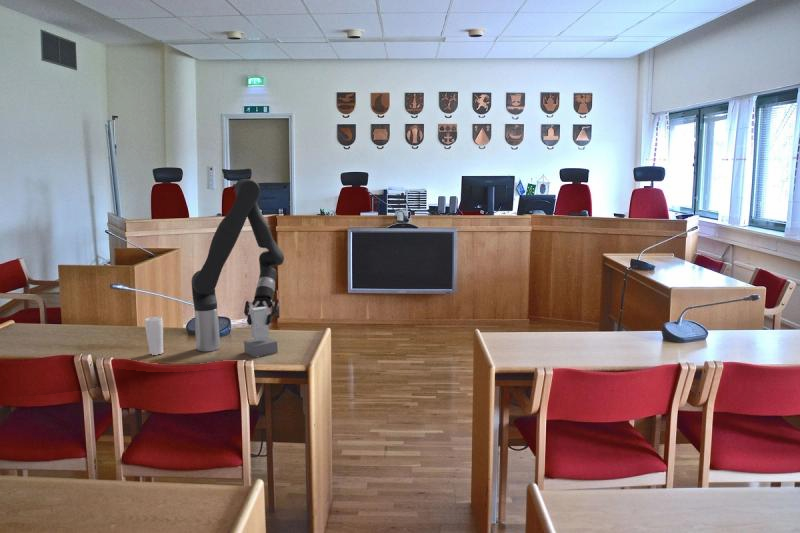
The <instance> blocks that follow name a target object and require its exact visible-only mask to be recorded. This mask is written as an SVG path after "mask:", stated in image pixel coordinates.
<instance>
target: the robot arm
mask: <svg viewBox="0 0 800 533" xmlns="http://www.w3.org/2000/svg"><path fill="white" fill-rule="evenodd" d="M234 193H235V196H236V197H235V200H234V203H233V205H232V207H231V209H230V210H229V212H227V213H226V215H225V216H224V217H223V218H222V220H221V221H220V222H219V224H218V226H217V228H216V230H215V232H214V234H213V237H212V240H211V243H210V246H209V251H208V254H207V258H206V259H205V261H204V264H203V266H202V267H201V269H200V270H197V271H195V273H194V274H193V275H192V278H191V292H192V293H191V294H192V302H193V309H194V320H195V321H194V322H195V326H194V332H195V333H194V334H195V335H194V336H195V347H196V349H197V351H199V352H214V351H217V350H219V349H220V348H221V339H220V337H221V336H220V327H219V326H220V324H219V313H218V312H219V311H218V310H219V309H218V300H217V297H216V296H217V295H216V287H217V285H218V282H219V279H220V276H221V272H222V270H223V267H224V266H225V264H226V262H227V260H228V259H229V256H230V254H231V253H232V251H233V250H234V248H235V245H236V243H237V241H238V238H239V236H240V235H241V232H242V230H243V227H244V226H245V223H246V221H247V219H248V222H249V225H250V227H251V230H252V234H253V235H254V239H255V241H256V243H257V246H258V247H259V248H260V249H261V248H262V249H267V251H262V252H261V253H260V255H259V256H258V262H259V277H258V281H257V284H256V289H255V293H254V299H253V300H252V301H249V300H246V301H245V304H244V309H243V310H244V311H243V314H244V315H245V317H247V319H246V323H247V325H248V326H251V314H250V308H255V307H262V306H264V307H267V310H268V316H267V321H266V324H267V325H268V326H270V324H272V319H273V317H277V316H278V313H279V308H280V303H279V301H278V300H275V301H273V300H274V295H275V291H276V281H277V276H278V275H277V274H278V271H277V270H276V269H275V268H273V267H278V266H281V265H282V264H283V263H284V259H285V256H284V253H283V251H282V250H281V248H280V247H279V245H278V243H277V242H276V241H275V240H274V237H273V235H272V232H271V229H270V227H269V224H268V223H267V221H266V219H265V217H264V215H263V214H262V212H261V209H260V207H259V203H258V199H259V198H260V195H261V187H260V185H259V183H258V182H257V181H255V180H252V179H249V178H242V179H241V178H240V179H239V180H238V181H237V182H235V184H234ZM272 307H273V310H272V311H271V310H270V308H272Z"/></svg>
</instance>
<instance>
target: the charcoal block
mask: <svg viewBox="0 0 800 533" xmlns="http://www.w3.org/2000/svg"><path fill="white" fill-rule="evenodd" d="M243 344H244V345H243V346H244V353H246V354H247V355H250V356H251V355H252V356H251V357H253V356H254V357H253V358H258V357H257V356H260V357H263V356H262V355H265V356H268V355H267V354H269V355H272V354H271V353H274V354H277V352H278V350H279V349H278V341H277V340H275V339H273V338H270V337H269V336H268V337H263V338H257V339H255V338H253V339H248V340H243ZM278 353H279V352H278Z"/></svg>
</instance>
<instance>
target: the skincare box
mask: <svg viewBox="0 0 800 533" xmlns="http://www.w3.org/2000/svg"><path fill="white" fill-rule="evenodd" d="M249 311H250V314H251V325H250V328H251V337H252V338H253V339H257V338H263V337H268V338H269V337H270V334H269V333H270V331H269V325H267V324H266V321H267V316H268V310H267V307H264V306H262V307H255V308H252V307H251V308H250V309H249Z"/></svg>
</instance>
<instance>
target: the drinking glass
mask: <svg viewBox="0 0 800 533" xmlns="http://www.w3.org/2000/svg"><path fill="white" fill-rule="evenodd" d="M144 325H145V335H146V339H147V344H148V352H149V355H150V354H152V355H151V356H153V355H156V356H159V355H158V354H161V355H162V353H164V324H163V317H161V316H152V317H148V318H145V319H144Z"/></svg>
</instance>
